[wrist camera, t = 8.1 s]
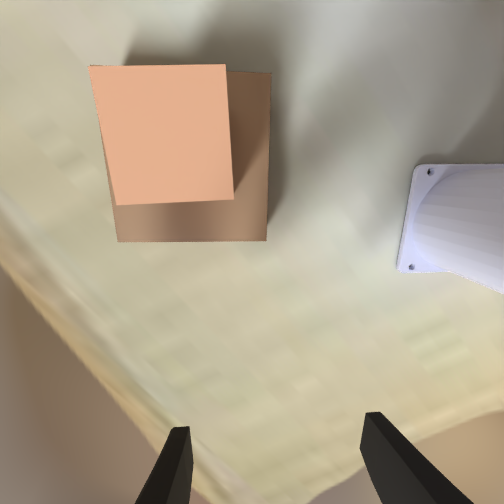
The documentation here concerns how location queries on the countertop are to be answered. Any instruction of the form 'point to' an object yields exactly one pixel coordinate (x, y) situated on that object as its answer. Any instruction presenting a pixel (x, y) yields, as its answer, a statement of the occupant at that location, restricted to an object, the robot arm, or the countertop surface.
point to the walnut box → (244, 181)
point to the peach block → (165, 132)
